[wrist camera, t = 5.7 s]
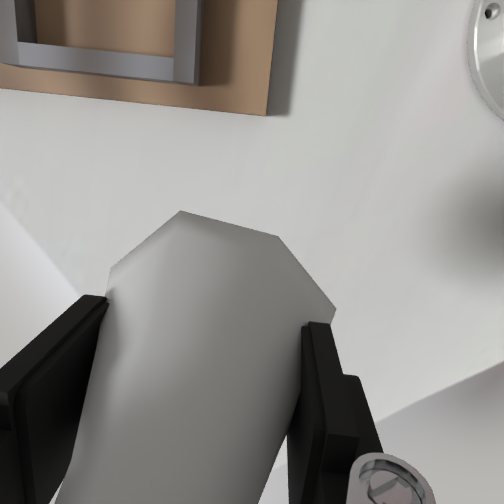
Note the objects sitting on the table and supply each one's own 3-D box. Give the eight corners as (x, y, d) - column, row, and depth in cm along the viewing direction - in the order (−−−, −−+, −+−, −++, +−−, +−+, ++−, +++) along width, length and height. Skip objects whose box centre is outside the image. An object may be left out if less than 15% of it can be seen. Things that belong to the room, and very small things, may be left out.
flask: (248, 448, 14) (187, 1162, 4) (68, 348, 13) (-513, 973, 3) (377, 297, 12) (823, 1071, 2) (170, 164, 11) (-643, 480, 1)
